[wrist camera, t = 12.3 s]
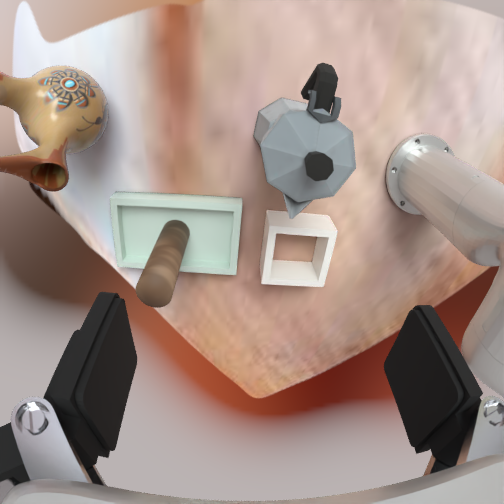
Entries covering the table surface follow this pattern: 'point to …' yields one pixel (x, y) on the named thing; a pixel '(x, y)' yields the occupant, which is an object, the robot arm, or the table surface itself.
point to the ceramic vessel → (53, 121)
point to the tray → (188, 211)
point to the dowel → (163, 265)
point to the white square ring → (297, 270)
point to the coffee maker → (306, 143)
